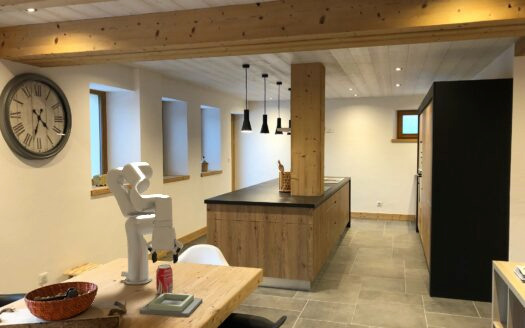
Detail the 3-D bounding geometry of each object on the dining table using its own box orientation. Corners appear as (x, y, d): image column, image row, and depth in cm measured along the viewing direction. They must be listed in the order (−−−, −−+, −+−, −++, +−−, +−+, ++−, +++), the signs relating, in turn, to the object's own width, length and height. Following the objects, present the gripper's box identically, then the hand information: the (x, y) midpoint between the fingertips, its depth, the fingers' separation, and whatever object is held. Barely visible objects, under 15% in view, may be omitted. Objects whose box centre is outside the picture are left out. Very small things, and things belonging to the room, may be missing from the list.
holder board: (139, 313, 160) (139, 304, 160) (157, 298, 176) (157, 291, 176) (188, 316, 156) (188, 308, 156) (202, 301, 172) (202, 293, 172)
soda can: (158, 290, 186) (157, 264, 186) (173, 290, 186) (173, 263, 186) (155, 296, 179) (154, 268, 178) (171, 295, 179) (171, 268, 179)
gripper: (141, 225, 180) (142, 264, 180) (179, 225, 176) (180, 265, 176) (149, 222, 187) (150, 260, 187) (185, 222, 184) (186, 260, 184)
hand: (165, 262), depth 182 cm, fingers open, 9 cm apart
